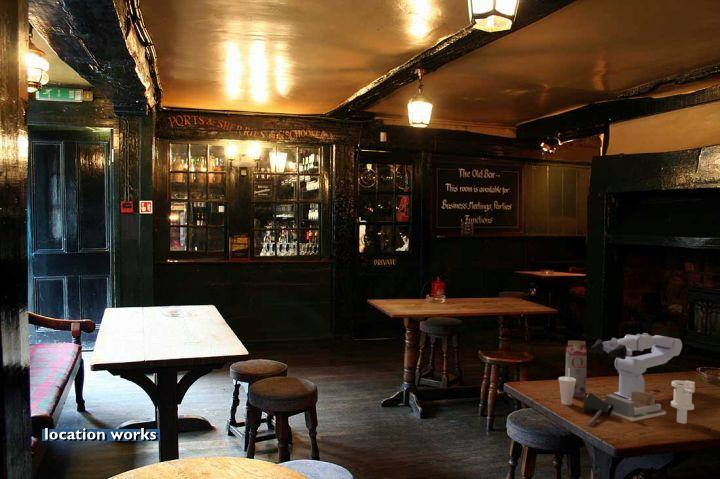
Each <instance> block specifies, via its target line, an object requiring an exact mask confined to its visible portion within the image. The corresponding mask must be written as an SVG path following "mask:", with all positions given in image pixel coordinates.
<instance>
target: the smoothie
mask: <svg viewBox="0 0 720 479" xmlns="http://www.w3.org/2000/svg"><path fill="white" fill-rule="evenodd" d="M558 382H559V391H560V399H561V400H560V402H561V404H562V405H565V406H571V405H572V404H573V400H574V399H573V398H574V397H573V393H574V387H575V383H576V379H574V378H571V377H570V368H568V377H565V376H559V377H558Z"/></svg>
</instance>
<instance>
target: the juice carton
mask: <svg viewBox="0 0 720 479" xmlns="http://www.w3.org/2000/svg"><path fill="white" fill-rule="evenodd" d="M587 356H588V350H587V346H586V341H585V340H583V341H582V340H568V341H567V345H566V347H565V376H564V377H568V368H570V377H571V378H574V379H576V383H575V387H574V393H573V398H574V397H575V398H586V396H587V395H586V393H587V364H588V363H587V361H588V358H587Z"/></svg>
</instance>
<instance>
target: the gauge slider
mask: <svg viewBox="0 0 720 479" xmlns="http://www.w3.org/2000/svg"><path fill="white" fill-rule="evenodd" d="M655 397H656V395H655V394H652V393H649V392H646V391H644V392H643V391H636V392H632V394H631V401H633V402H635V407H637V408H639V407H644V406H649V405H654V406H657V407H658V406H659V405H656V404H657V403H656V402H655V399H656V398H655Z"/></svg>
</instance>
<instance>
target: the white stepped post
mask: <svg viewBox="0 0 720 479" xmlns="http://www.w3.org/2000/svg"><path fill="white" fill-rule="evenodd" d="M695 383H696V382H695V381H691V380H671V386H672V387H674V389H673V400H671V401H670V406H671V407H672V408H674V409H676V423H679V424H683V425H684V424H687V423H688V422H687V421H688V411H693V410H695V405H694V404H693V401H692V400H693V399H692V398H693V394H694V393H695V390H696V389H695V388H696V386H695V385H696V384H695Z"/></svg>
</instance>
